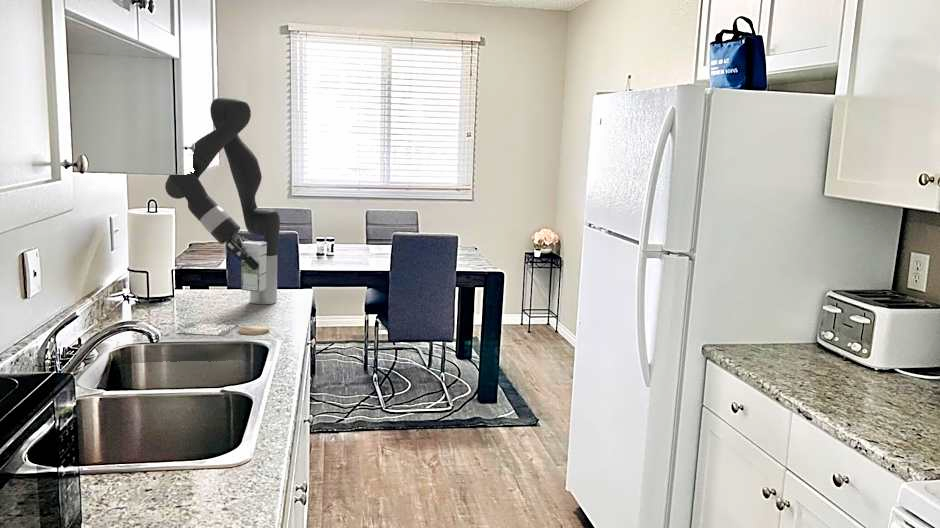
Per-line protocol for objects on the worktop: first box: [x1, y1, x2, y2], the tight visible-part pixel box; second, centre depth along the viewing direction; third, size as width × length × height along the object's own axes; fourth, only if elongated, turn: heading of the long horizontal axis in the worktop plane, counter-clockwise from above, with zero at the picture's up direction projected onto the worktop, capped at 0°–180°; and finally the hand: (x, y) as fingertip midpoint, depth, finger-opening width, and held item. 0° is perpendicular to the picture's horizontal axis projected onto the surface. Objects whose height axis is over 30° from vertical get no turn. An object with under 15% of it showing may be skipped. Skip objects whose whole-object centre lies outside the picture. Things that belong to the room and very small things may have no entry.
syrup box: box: [240, 240, 267, 292], centre depth 218 cm, size 6×6×14 cm
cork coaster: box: [237, 325, 270, 336], centre depth 221 cm, size 9×9×1 cm
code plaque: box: [185, 322, 235, 337], centre depth 221 cm, size 14×14×1 cm
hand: (259, 266), depth 218 cm, fingers closed on syrup box, 6 cm apart
